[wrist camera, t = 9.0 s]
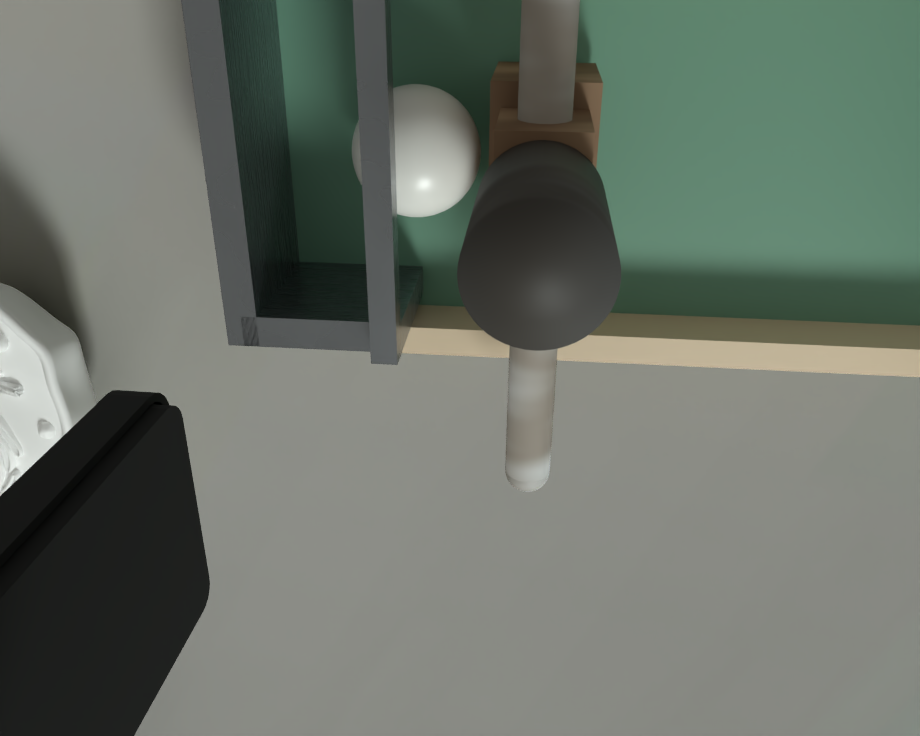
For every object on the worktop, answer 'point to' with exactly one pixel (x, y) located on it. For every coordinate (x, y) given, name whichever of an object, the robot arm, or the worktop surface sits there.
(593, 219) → the kicker
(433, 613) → the worktop surface
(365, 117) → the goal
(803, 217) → the pitch
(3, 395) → the cell model
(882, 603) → the worktop surface
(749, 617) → the worktop surface
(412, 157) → the ball
